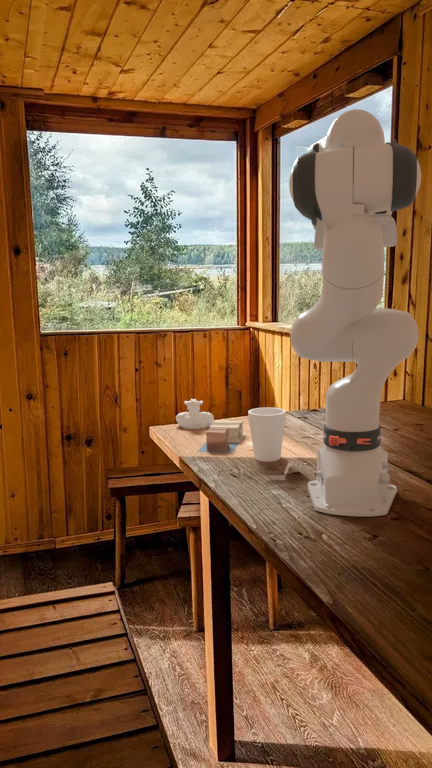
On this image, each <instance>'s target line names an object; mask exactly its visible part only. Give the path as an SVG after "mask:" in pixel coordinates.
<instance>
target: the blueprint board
mask: <svg viewBox="0 0 432 768" xmlns="http://www.w3.org/2000/svg"><path fill="white" fill-rule="evenodd" d="M246 435H247V434H246V433H243V435H242V436H241V438H240V439H239V440H238V442H236V441H229V447H228V448H227V449H226V450H225V451H214V450H207V440H206V441H205V442H204V443H203V444H202V446H201V447H200V448H198V450H197V451H196V452H197V453H208V454H209V453H210V454H211V453H213V454H214V453H215V454H233V453H234V451H235V450H236V448H237V447H238V446H239V445H240V443H241V442H242V441H243V439H244V438H245V437H246Z"/></svg>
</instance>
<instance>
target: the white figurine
mask: <svg viewBox="0 0 432 768" xmlns="http://www.w3.org/2000/svg"><path fill="white" fill-rule="evenodd" d="M183 403H184V405H186V410H188V411H183V412H180V413H177V415H176V416H175V420H176V422H177V424H178V426H179V427H180V428H183V429H186V430H200V429H201V430H202V429H206V428H210V426H211V425H212V424H213V423H214V422H215V421H214V420H215V419H214V418H215V416H214V414H212V413H211V412H209V411H208V412H207V411H200V410H201V408H200V406H201V405H203V403H204V401H203V400H200V401H199V400H197V399H196V398H190V400H184V401H183Z"/></svg>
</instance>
